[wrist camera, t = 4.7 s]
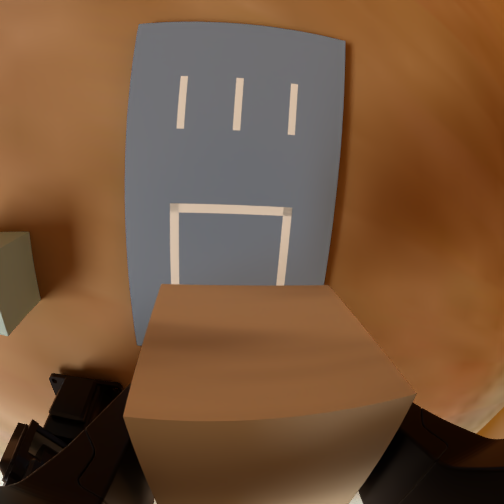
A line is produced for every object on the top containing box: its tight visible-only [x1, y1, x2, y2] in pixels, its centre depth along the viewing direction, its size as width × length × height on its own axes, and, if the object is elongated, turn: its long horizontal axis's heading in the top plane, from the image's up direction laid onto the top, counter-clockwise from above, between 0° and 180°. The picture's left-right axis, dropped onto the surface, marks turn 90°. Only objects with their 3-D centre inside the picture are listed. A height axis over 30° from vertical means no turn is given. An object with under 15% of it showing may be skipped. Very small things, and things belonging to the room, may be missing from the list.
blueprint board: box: [125, 22, 345, 346], centre depth 17 cm, size 20×12×1 cm, turn 176°
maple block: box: [123, 284, 417, 504], centre depth 7 cm, size 5×5×5 cm
